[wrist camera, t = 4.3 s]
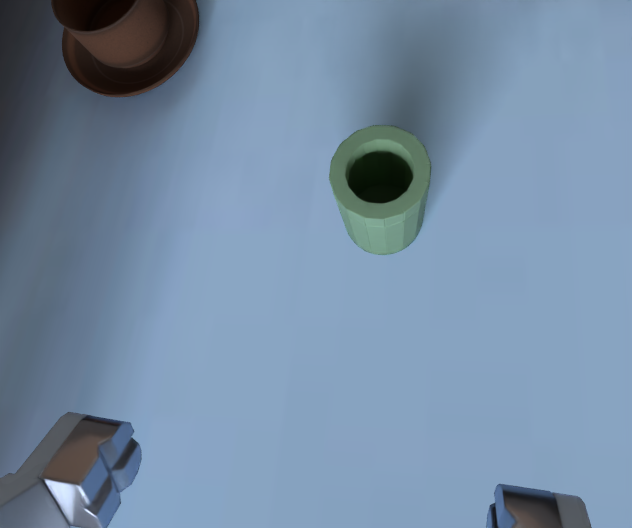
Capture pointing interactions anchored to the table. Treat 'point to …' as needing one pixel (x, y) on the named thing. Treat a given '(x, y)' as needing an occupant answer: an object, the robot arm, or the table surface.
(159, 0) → the cup and saucer
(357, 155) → the green cylindrical container
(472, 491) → the table surface
